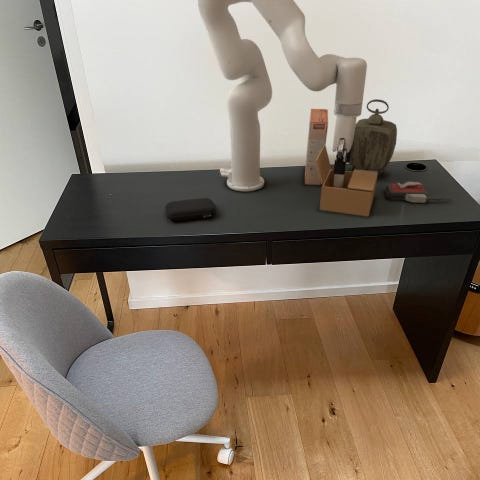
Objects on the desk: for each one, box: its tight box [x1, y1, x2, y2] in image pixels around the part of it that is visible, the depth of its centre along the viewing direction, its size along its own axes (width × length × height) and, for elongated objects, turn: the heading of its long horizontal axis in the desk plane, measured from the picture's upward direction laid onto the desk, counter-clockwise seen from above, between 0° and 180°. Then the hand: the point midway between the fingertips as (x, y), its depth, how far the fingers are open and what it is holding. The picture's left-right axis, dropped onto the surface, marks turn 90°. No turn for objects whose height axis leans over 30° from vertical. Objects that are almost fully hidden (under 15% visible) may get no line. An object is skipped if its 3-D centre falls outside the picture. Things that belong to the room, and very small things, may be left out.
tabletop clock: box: [348, 99, 398, 176], centre depth 164 cm, size 14×9×25 cm, turn 66°
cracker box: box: [304, 108, 329, 186], centre depth 165 cm, size 14×6×21 cm, turn 173°
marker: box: [333, 156, 347, 189], centre depth 151 cm, size 3×3×14 cm
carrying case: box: [164, 197, 217, 222], centre depth 150 cm, size 11×3×15 cm
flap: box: [315, 144, 332, 185], centre depth 150 cm, size 7×14×1 cm
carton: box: [319, 168, 379, 217], centre depth 152 cm, size 15×14×9 cm
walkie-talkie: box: [384, 181, 452, 204], centre depth 157 cm, size 9×4×20 cm
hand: (341, 167), depth 149 cm, fingers open, 9 cm apart
